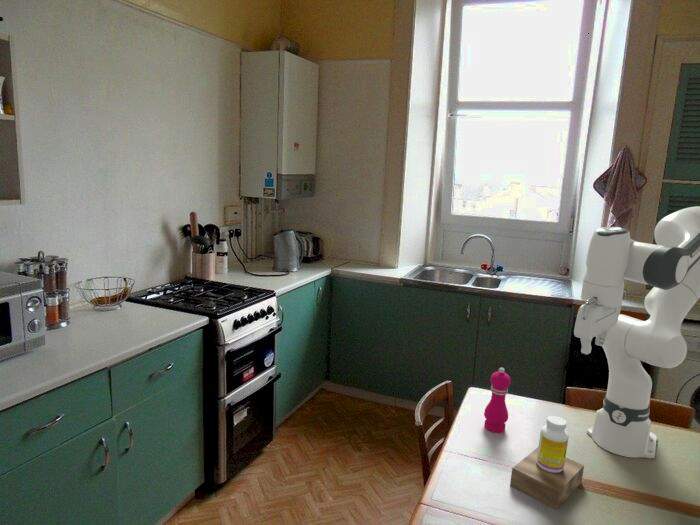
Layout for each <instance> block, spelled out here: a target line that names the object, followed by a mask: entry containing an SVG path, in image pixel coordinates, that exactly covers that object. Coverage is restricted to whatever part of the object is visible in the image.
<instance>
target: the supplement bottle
mask: <svg viewBox="0 0 700 525" xmlns="http://www.w3.org/2000/svg"><path fill="white" fill-rule="evenodd" d="M567 422H568V421H566V420H565V419H564V418H562V417H560V416H557V415H556V416H555V415H549V416H547V417H546V422H545V423H546V424H545V425H542V427H541V429H540V432H539V442H538V447H537V448H538V452H537V459H536V462H537V465H538V466H539V467H540V468H541V469H543V470H545V471H548V472H552V473H559V472H561V471H562V470H563V469H564V463H565V457H566V455H567V449H568V444H569V437H570V436H569V433H568V431H567V430H566V429H567V425H568V424H567ZM566 458H567V457H566Z"/></svg>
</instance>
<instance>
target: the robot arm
mask: <svg viewBox="0 0 700 525" xmlns="http://www.w3.org/2000/svg"><path fill="white" fill-rule="evenodd" d="M653 233H654V235H653V236H654V240H655V241H654V242H655V243H656V244H653V243H647V242H642V241H641V242H640V241H636V240H634V239H632V238H631V234H630V231H629V230H628V229H627V228H624V227H619V226H602V227H599V228H597V229H596V230H594V232H593V234H592V235H591V236H592V237H591V239H590V242H589V245H588V251H587V255H586V261H585V265H586V271H585V272H586V273H585V275H584V277H583V279H582V281H583V282H582V286H581V294H580V300H582V301H584V302H585V303H584V304H582V305H580V306H579V308H578V311H577V314H576V319H575V323H574V329H573V335H574V337H576V338H577V339H578V338H579V339H580V343H581V349H580V352H581V354H584V355H589V354H591V353H592V342H593V338H594V337H595V340H594V344H595V345H596V346H600V347H602V349H603V351H604V353H605V357H606V359H607V364H608V365H607V366H608V371H609V372H608V381H607V382H608V383H607V390H606V394H605V396H604V398H603V401H602V402H603V404H602V408H600V409H597V410H596V414H595V418H594V422H593V426H591V427H589V428H588V429H587V430H586V434H587V435H588V436H590V437H591V438H592V439H593V441H594V442H595V443H596V445H597V446H599V447H600V448H602V449H603V450H606V451H607V452H609V453H613V454H615V455H618V456H622V457H628V458H634V459H635V458H636V459H637V458H645V459H652V458H653V459H655V458H656V448H657V442H656V441H658V439H657V435H656V433H653V432H652V430H651V429H652V428H651V427H652V426H651V425H652V420H651V419H650V411H651V410H650V407H651V406H650V405H651V401H650V400H651V393H652V387H653V381H652V378H651V376H650V375H649V374H648V372H647V371H646V370H645V368H644V367H643V365H642V362H643V363H646V364H649V365H650V366H655V367H660V368H666V369H673V368H675V367H677V366H679V365H681V364H682V363H683V361H684V360H685V359H686V357H687V353H688V345H687V342H686V340H685V338H684V337H683V334H682V330H681V329H682V327H681V326H682V323H683V321H684V319H685V318H686V316H687V315H688V313H689V312H690V311H691V309H692V308H693V307H694V306H695V304H696V303H697V302H698V301H699V299H700V206H698V205H697V206H691V207H690V206H689V207H685V208H682V209H679V210H677V211H674V212H672V213H670V214H667V215H666V216H664V217H663V218H661V219H660V220H659V221H658V222H657V224H656V226H655V228H654V232H653ZM625 280H627V281H631V282H635V283H639V284H642V285H643V284H644V285H646V286H648V285H649V286H651V287H653V288H651V290H650V291H649V292H648V293H647V294H646V296H645V297H644V301H643V303H644V308H645V311H646V312H647V313H648V315H649V318H648V319H647V320H642V319H639V318H635V317H632V316H629V315H626V314H622V313H621V310H622V305H623V301H624V300H625V299H626V297H627V292H626V290H624V288H625Z"/></svg>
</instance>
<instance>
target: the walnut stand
mask: <svg viewBox="0 0 700 525" xmlns="http://www.w3.org/2000/svg"><path fill="white" fill-rule="evenodd" d="M537 452H538V447H537V448H535V449H534V450H533V451H532V452H530V453H529V454H528V455H527V456H525V457H524V458H523V459H521V461H519V462H518V463H517V464H516V465H514V466H513V467H512V469H511V474H510V475H511V476H510V482H509V483H510V484H509V486H510V487H512V488H514V489H516V490H518V491H520V492H522V493H524V495H525V494H526V495H528V496H529V497H531V498H533V499H535V500H537V501H539V502H540V503H543V504H545V505H547V506H549V507H550V508H553V509H554V510H558V508H560V506H562V504H563V503H564V502H565V501H566V500H567V499H568V498H569V497H570V496H571V494H573V493H574V491H575V490H576V489H577V488H579V486H580V485H581V484H582V482H583V476H584V468H585V465H584V464H582V463H580V462H577V461H575V460H573V459H570V458H568V457H565V463H564V469H563V470H562V471H561V472H559V473H552V472H548V471H545V470H543V469H541V468H540V467H539V466H538V465H537V462H536V459H537Z"/></svg>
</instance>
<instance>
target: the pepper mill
mask: <svg viewBox="0 0 700 525" xmlns="http://www.w3.org/2000/svg"><path fill="white" fill-rule="evenodd" d="M511 381H512V380H511V377H510V376H509V374H508V373H506V372H505V368H504V367H499V368H498V371H495V372H493V373H492V374H491V376H490V379H489V382H490V384H491V386H490V391H491V399H490V400H489V402H488V404H486V406H485V409H484V412H483V416H484V418H485V420H484V425H483V426H484V428H485V429H486V430H487V431H489V432H491V433H496V434H501V433H503V432H505V431H506V422H507V421H508V420H509V411H508V408H507V405H506V395H508V391H509V387H510V385H511Z"/></svg>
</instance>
